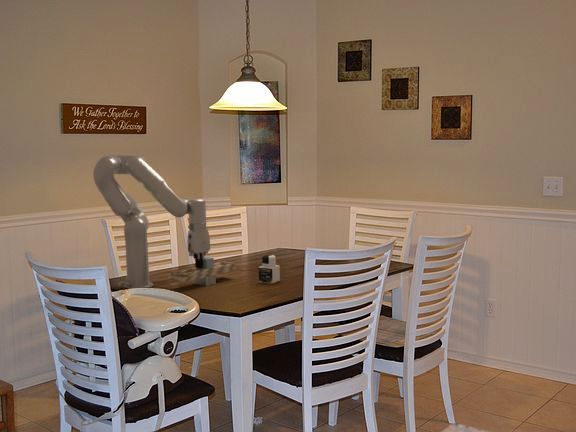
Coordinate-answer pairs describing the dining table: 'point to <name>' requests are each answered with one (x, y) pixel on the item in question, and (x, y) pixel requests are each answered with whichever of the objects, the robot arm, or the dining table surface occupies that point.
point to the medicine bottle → (269, 270)
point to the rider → (207, 263)
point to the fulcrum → (206, 280)
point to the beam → (202, 272)
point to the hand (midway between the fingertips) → (199, 267)
